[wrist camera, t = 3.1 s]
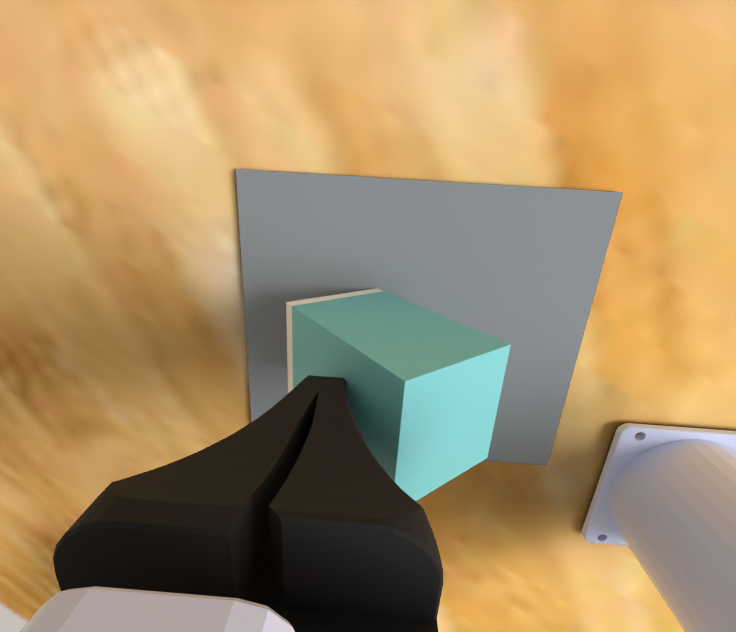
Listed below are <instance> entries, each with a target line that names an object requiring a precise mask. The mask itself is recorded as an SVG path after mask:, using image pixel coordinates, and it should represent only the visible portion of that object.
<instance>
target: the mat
mask: <svg viewBox="0 0 736 632" xmlns="http://www.w3.org/2000/svg"><path fill="white" fill-rule="evenodd" d="M236 181H237V197H238V213H239V229H240V246H241V262H242V278H243V294H244V310H245V327H246V343H247V359H248V375H249V392H250V408H251V422H253V421H254V420H256V419H257V418H259V417H260V416H261V415H262V414H264V413H265V412H266V411H268V410H269V409H270V408H272V407H273V406H274V405H275V404H276V403H278V402H279V401H280V400H281V399H282V398H283V397H285V396H286V395H287V394H288V366H287V317H286V302H291V301H297V300H304V299H310V298H317V297H323V296H330V295H337V294H343V293H350V292H356V291H363V290H369V289H376V288H378V289H380V290H383V291H385V292H387V293H390V294H392V295H395V296H397V297H399V298H402V299H404V300H406V301H409V302H411V303H414V304H416V305H418V306H421V307H423V308H425V309H428V310H430V311H433V312H435V313H437V314H440V315H442V316H444V317H447V318H449V319H451V320H454V321H456V322H459V323H461V324H463V325H466V326H468V327H470V328H473V329H475V330H478V331H480V332H482V333H485V334H487V335H489V336H492V337H494V338H497V339H499V340H501V341H504V342H506V343H508V344H511V346H510V351H509V356H508V360H507V365H506V370H505V375H504V380H503V385H502V389H501V394H500V399H499V404H498V409H497V413H496V418H495V423H494V428H493V433H492V438H491V442H490V447H489V452H488V457H487V458H486V459H485V460H483V461H493V462H507V463H520V464H533V465H546V466H547V464H548V460H549V457H550V453H551V450H552V446H553V442H554V439H555V435H556V432H557V428H558V425H559V421H560V417H561V414H562V410H563V407H564V403H565V399H566V396H567V392H568V389H569V385H570V381H571V378H572V374H573V371H574V367H575V363H576V360H577V356H578V353H579V349H580V345H581V342H582V338H583V335H584V331H585V327H586V324H587V320H588V317H589V313H590V309H591V306H592V302H593V299H594V295H595V292H596V288H597V284H598V281H599V277H600V274H601V270H602V266H603V263H604V259H605V256H606V252H607V248H608V245H609V241H610V238H611V234H612V230H613V227H614V223H615V220H616V216H617V212H618V209H619V205H620V202H621V198H622V194H623V192H608V191H592V190H575V189H558V188H542V187H525V186H508V185H492V184H475V183H458V182H442V181H425V180H408V179H392V178H375V177H359V176H342V175H325V174H309V173H292V172H275V171H259V170H242V169H236Z"/></svg>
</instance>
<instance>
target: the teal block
mask: <svg viewBox="0 0 736 632" xmlns="http://www.w3.org/2000/svg"><path fill="white" fill-rule="evenodd" d="M286 317H287V366H288V393H289V392H290V391H291V390H292V389H294V388H295V387H296V386H297V385H298V384H299V383H300V382H301V381H302V380H303V379H304V378H306V377H307V376H308V375H311V376H325V377H340V378H344V379H345V380H346V382H347V385H346V391H347V397H348V401H349V405H350V408H351V411H352V414H353V416H354V419H355V421H356V424H357V426H358V428H359V430H360V432H361V434H362V436H363V438H364V440H365V442H366V444H367V445H368V447H369V449H370V450H371V452H372V453H373V455H374V456H375V458H376V459H377V461H378V462H379V463H380V464H381V466H382V467H383V468H384V470H385V471H386V472H387V473H388V475H389V476H390V477H391V478H392V479H393V481H394V482H395V483H396V484H397V485H398V486H399V487H400V488H401V489H402V490H403V491H404V492H405V493H407V494H408V495H409V496H410V497H411V498H412V499H413V500H415V501H417V500H419V499H420V498H422V497H424V496H425V495H427V494H429V493H430V492H432V491H433V490H435V489H437V488H438V487H440V486H442V485H443V484H445V483H447V482H448V481H450V480H452V479H453V478H455V477H457V476H458V475H460V474H462V473H463V472H465V471H467V470H468V469H470V468H471V467H473V466H475V465H476V464H478V463H480V462H481V461H483V460H485V459H486V458H487V457H488V452H489V447H490V442H491V438H492V433H493V428H494V423H495V418H496V413H497V409H498V404H499V399H500V394H501V389H502V385H503V380H504V375H505V370H506V365H507V360H508V356H509V351H510V346H511V344H508V343H506V342H504V341H501V340H499V339H497V338H494V337H492V336H489V335H487V334H485V333H482V332H480V331H478V330H475V329H473V328H470V327H468V326H466V325H463V324H461V323H459V322H456V321H454V320H451V319H449V318H447V317H444V316H442V315H440V314H437V313H435V312H433V311H430V310H428V309H425V308H423V307H421V306H418V305H416V304H414V303H411V302H409V301H406V300H404V299H402V298H399V297H397V296H395V295H392V294H390V293H387V292H385V291H383V290H380V289H378V288H376V289H369V290H363V291H356V292H350V293H343V294H337V295H330V296H323V297H317V298H310V299H304V300H297V301H291V302H286Z"/></svg>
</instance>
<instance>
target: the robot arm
mask: <svg viewBox="0 0 736 632" xmlns="http://www.w3.org/2000/svg"><path fill="white" fill-rule="evenodd" d="M346 385H347V382H346V380H345V379H344V378H340V377H325V376H311V375H308V376H307V377H306V378H304V379H303V380H302V381H301V382H300V383H299V384H298V385H297V386H296V387H295V388H294V389H292V390H291V391H290V392H289V393H288V394H287V395H286V396H285V397H283V398H282V399H281V400H280V401H279V402H278V403H276V404H275V405H274V406H273V407H272V408H270V409H269V410H268V411H266V412H265V413H264V414H262V415H261V416H260V417H259V418H257V419H256V420H254V421H253V422H251V423H250V424H248V425H247V426H245V427H244V428H242V429H240V430H239V431H237V432H235V433H234V434H232V435H230V436H229V437H227V438H225V439H223V440H221V441H219V442H217V443H215V444H213V445H211V446H209V447H207V448H205V449H203V450H201V451H199V452H197V453H194V454H192V455H190V456H187V457H185V458H183V459H180V460H178V461H175V462H173V463H170V464H168V465H165V466H162V467H159V468H157V469H154V470H151V471H147V472H144V473H141V474H138V475H135V476H132V477H128V478H125V479H122V480H119V481H115V482H112V483H111V484H110V485H109V486H108V487H107V488H106V489H105V490H104V491H103V492H102V493H101V494H100V495H99V496H98V497H97V498H96V499H95V501H94V502H93V503H92V504H91V505H90V506H89V507H88V508H87V510H86V511H85V512H84V513H83V514H82V515H81V516H80V517H79V519H78V520H77V521H76V522H75V523H74V524H73V525H72V526H71V528H70V529H69V530H68V531H67V532H66V533H65V534H64V536H63V537H62V538H61V539H60V541H59V542H58V543H57V545H56V548H55V552H54V556H53V560H54V566H55V573H56V577H57V580H58V583H59V586H60V589H61V591H60V592H58V593H57V594H55V595H54V596H53V597H52V598H50V599H49V600H48V601H47V602H45V603H44V604H43V605H42V606H41V607H40V608H39V609H38V610H37V611H36V613H35V614H34V615H33V616H32V618H31V619H30V620H29V621H28V623H27V624H26V625H25V626H24V628H23V629H22V630H21V631H20V632H438V627H437V614H438V608H439V603H440V597H441V592H442V586H443V568H442V563H441V558H440V554H439V551H438V547H437V544H436V540H435V537H434V535H433V532H432V529H431V526H430V524H429V521H428V519H427V516H426V514H425V511H424V509H423V508H422V507H421V506H420V505H419V504H418V503H417V502H416V501H415V500H413V499H412V498H411V497H410V496H409V495H408V494H407V493H405V492H404V491H403V490H402V489H401V488H400V487H399V486H398V485H397V484H396V483H395V482H394V481H393V479H392V478H391V477H390V476H389V475H388V473H387V472H386V471H385V470H384V468H383V467H382V466H381V464H380V463H379V462H378V461H377V459H376V458H375V456H374V455H373V453H372V452H371V450H370V449H369V447H368V445H367V444H366V442H365V440H364V438H363V436H362V434H361V432H360V430H359V428H358V426H357V424H356V421H355V419H354V416H353V414H352V411H351V408H350V405H349V401H348V397H347V391H346ZM639 432H640V433H639ZM637 433H639V434H638V435H636V434H637ZM635 435H636V436H635ZM582 535H583V537H584V539H585V540H586V541H587V542H590V543H601V544H613V545H626V546H629V548H630V549H631V551H632V552H633V554H634V555H635V557H636V558H637V560H638V561H639V563H640V564H641V566H642V567H643V569H644V570H645V572H646V573H647V575H648V576H649V578H650V580H651V581H652V583H653V584H654V586H655V587H656V589H657V590H658V592H659V593H660V595H661V596H662V598H663V599H664V601H665V602H666V604H667V605H668V607H669V608H670V610H671V611H672V613H673V614H674V616H675V617H676V619H677V620H678V622H679V623H680V625H681V626H682V628H683V629H684V631H685V632H736V431H728V430H715V429H701V428H687V427H674V426H660V425H647V424H633V423H625V424H623V425H621V426H619V427H618V428H617V430H616V433H615V436H614V438H613V441H612V444H611V447H610V450H609V453H608V456H607V459H606V462H605V465H604V467H603V470H602V473H601V476H600V479H599V482H598V485H597V488H596V491H595V494H594V497H593V499H592V502H591V505H590V508H589V511H588V514H587V517H586V520H585V523H584V526H583V528H582Z"/></svg>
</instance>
